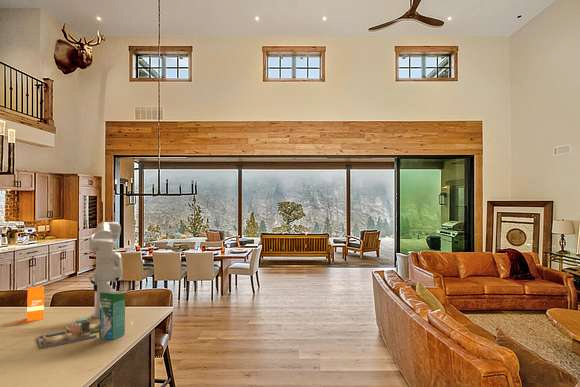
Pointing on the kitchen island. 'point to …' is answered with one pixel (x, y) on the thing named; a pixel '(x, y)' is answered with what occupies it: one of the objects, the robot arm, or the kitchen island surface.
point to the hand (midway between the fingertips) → (104, 290)
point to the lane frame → (62, 341)
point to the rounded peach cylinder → (76, 329)
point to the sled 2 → (91, 328)
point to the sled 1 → (68, 335)
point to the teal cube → (81, 321)
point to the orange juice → (35, 303)
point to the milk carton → (112, 315)
